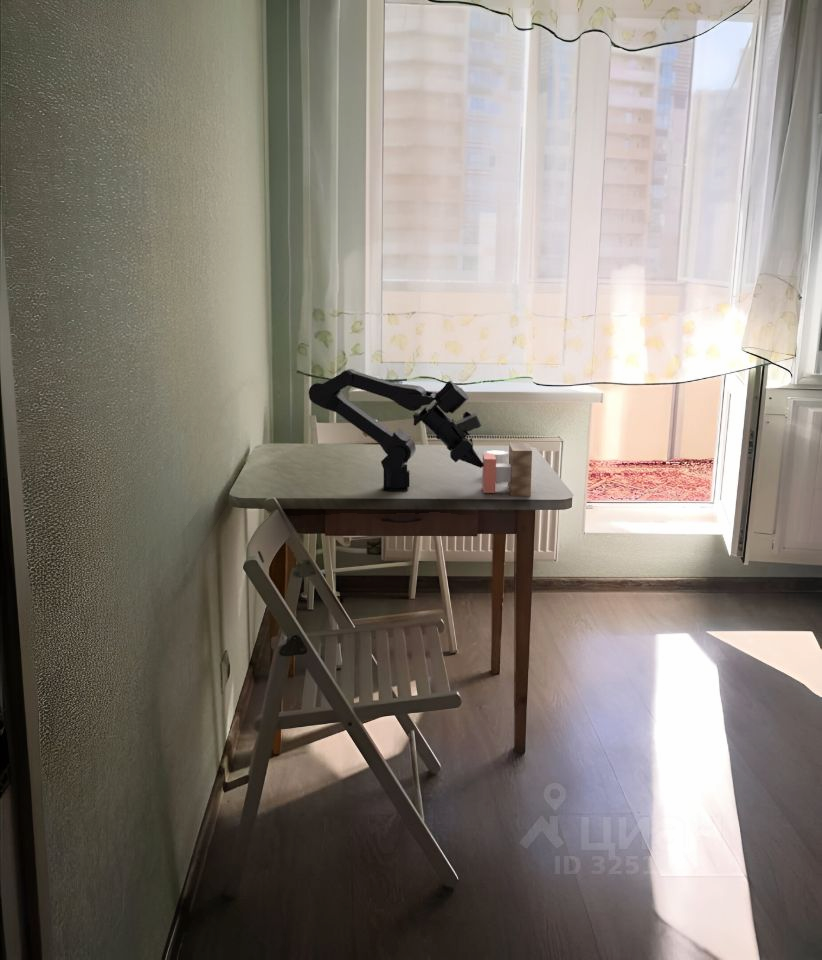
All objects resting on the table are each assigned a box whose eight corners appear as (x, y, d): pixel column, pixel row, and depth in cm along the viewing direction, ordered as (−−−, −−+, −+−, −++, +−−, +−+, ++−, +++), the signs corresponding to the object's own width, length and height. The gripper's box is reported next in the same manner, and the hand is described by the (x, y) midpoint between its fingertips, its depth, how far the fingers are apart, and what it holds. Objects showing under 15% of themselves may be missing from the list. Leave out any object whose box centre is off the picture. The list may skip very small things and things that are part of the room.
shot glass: (482, 473, 264) (482, 449, 262) (506, 473, 264) (506, 449, 263) (485, 479, 257) (486, 454, 256) (510, 478, 258) (510, 454, 256)
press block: (511, 495, 239) (512, 450, 237) (507, 486, 249) (509, 442, 246) (530, 496, 239) (532, 450, 237) (526, 486, 249) (527, 443, 246)
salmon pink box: (483, 492, 241) (484, 459, 239) (482, 486, 248) (482, 453, 246) (518, 493, 241) (519, 459, 239) (515, 486, 248) (516, 453, 245)
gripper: (464, 409, 230) (507, 452, 232) (461, 397, 248) (501, 438, 250) (432, 440, 232) (475, 482, 234) (432, 426, 250) (472, 466, 252)
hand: (482, 466), depth 243 cm, fingers closed, pressing on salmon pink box
